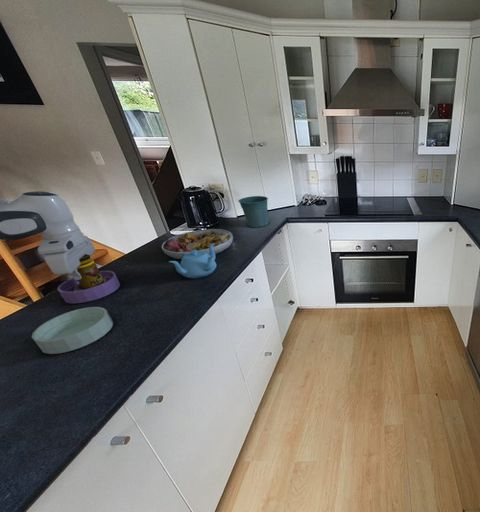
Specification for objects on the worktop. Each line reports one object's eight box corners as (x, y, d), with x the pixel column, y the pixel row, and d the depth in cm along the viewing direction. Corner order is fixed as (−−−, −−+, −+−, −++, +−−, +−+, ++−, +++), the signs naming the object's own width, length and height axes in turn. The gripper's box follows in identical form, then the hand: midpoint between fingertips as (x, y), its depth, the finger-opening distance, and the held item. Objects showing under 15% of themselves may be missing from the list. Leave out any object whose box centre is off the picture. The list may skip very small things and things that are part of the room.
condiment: (106, 285, 102) (92, 257, 96) (74, 294, 96) (56, 264, 91) (105, 278, 106) (91, 250, 101) (74, 286, 101) (58, 257, 96)
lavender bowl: (55, 308, 93) (47, 296, 91) (76, 286, 106) (70, 275, 103) (112, 298, 99) (106, 286, 97) (126, 278, 112) (121, 267, 109)
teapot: (184, 267, 121) (176, 246, 116) (222, 261, 126) (216, 241, 122) (176, 284, 109) (168, 261, 104) (219, 276, 114) (213, 255, 110)
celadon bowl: (28, 361, 73) (17, 348, 71) (58, 326, 85) (50, 314, 83) (102, 345, 79) (94, 331, 77) (120, 314, 91) (114, 302, 89)
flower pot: (248, 230, 161) (243, 204, 154) (240, 223, 172) (234, 198, 165) (276, 225, 171) (272, 200, 164) (266, 218, 182) (262, 194, 175)
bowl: (217, 233, 157) (213, 220, 154) (245, 246, 142) (242, 232, 138) (155, 250, 135) (149, 236, 132) (180, 268, 120) (174, 252, 116)
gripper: (68, 230, 100) (85, 263, 106) (33, 252, 83) (57, 290, 90) (90, 227, 102) (106, 260, 109) (61, 249, 86) (82, 285, 92)
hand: (84, 273), depth 99 cm, fingers closed on condiment, 6 cm apart
